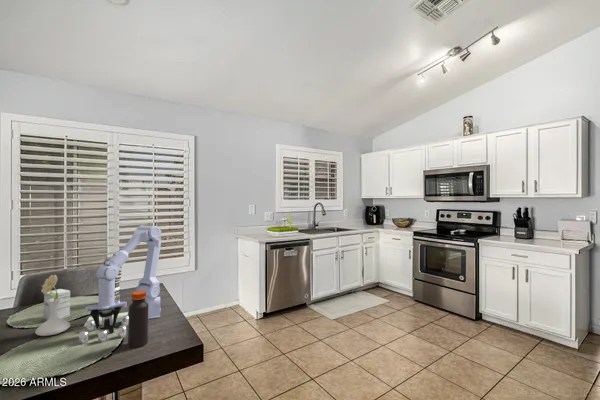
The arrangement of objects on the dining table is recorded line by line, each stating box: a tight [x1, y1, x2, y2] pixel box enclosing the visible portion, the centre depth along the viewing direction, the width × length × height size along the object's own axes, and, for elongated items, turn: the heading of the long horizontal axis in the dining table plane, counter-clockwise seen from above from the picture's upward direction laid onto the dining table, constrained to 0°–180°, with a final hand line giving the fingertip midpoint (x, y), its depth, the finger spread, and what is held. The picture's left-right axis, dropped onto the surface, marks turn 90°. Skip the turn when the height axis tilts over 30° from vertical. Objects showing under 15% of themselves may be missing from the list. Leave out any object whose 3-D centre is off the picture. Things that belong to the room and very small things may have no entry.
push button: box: [95, 308, 115, 336], centre depth 124 cm, size 7×5×10 cm
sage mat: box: [82, 311, 129, 328], centre depth 138 cm, size 16×12×1 cm
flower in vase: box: [35, 274, 71, 337], centre depth 124 cm, size 13×11×25 cm
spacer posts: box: [78, 314, 129, 345], centre depth 124 cm, size 16×18×4 cm
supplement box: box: [43, 288, 71, 321], centre depth 140 cm, size 7×7×13 cm
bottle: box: [127, 291, 149, 349], centre depth 115 cm, size 7×7×20 cm
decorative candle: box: [103, 256, 122, 302], centre depth 161 cm, size 9×9×25 cm
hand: (106, 326), depth 124 cm, fingers open, 5 cm apart
